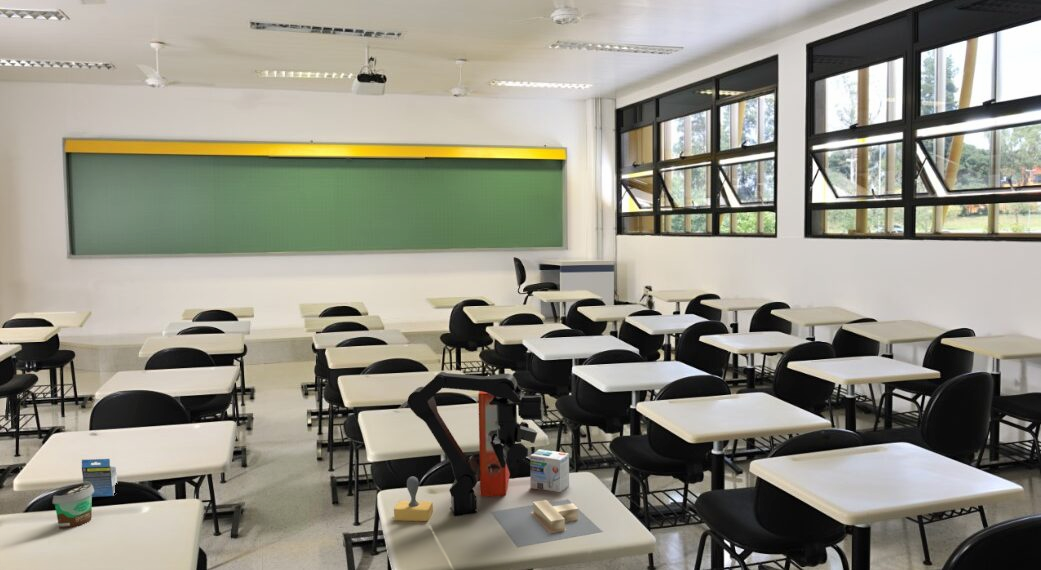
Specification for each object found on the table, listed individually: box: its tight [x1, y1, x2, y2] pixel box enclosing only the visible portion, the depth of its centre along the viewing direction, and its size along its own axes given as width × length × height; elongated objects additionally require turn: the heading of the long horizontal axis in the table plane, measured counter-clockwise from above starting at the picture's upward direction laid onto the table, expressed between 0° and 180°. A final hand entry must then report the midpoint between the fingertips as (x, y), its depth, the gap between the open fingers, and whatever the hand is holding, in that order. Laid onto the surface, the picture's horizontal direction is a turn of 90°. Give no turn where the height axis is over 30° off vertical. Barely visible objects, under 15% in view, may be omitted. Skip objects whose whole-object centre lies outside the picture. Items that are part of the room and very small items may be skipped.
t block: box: [532, 499, 579, 532], centre depth 210 cm, size 10×14×3 cm
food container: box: [52, 481, 94, 530], centre depth 217 cm, size 12×6×10 cm, turn 168°
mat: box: [490, 498, 603, 548], centre depth 209 cm, size 24×24×1 cm
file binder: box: [477, 391, 511, 498], centre depth 236 cm, size 8×17×32 cm, turn 177°
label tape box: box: [81, 458, 118, 498], centre depth 237 cm, size 9×4×12 cm, turn 94°
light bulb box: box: [529, 448, 570, 493], centre depth 235 cm, size 11×7×11 cm, turn 62°
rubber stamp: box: [393, 476, 434, 522], centre depth 215 cm, size 10×6×12 cm, turn 83°
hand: (508, 472), depth 215 cm, fingers open, 9 cm apart
